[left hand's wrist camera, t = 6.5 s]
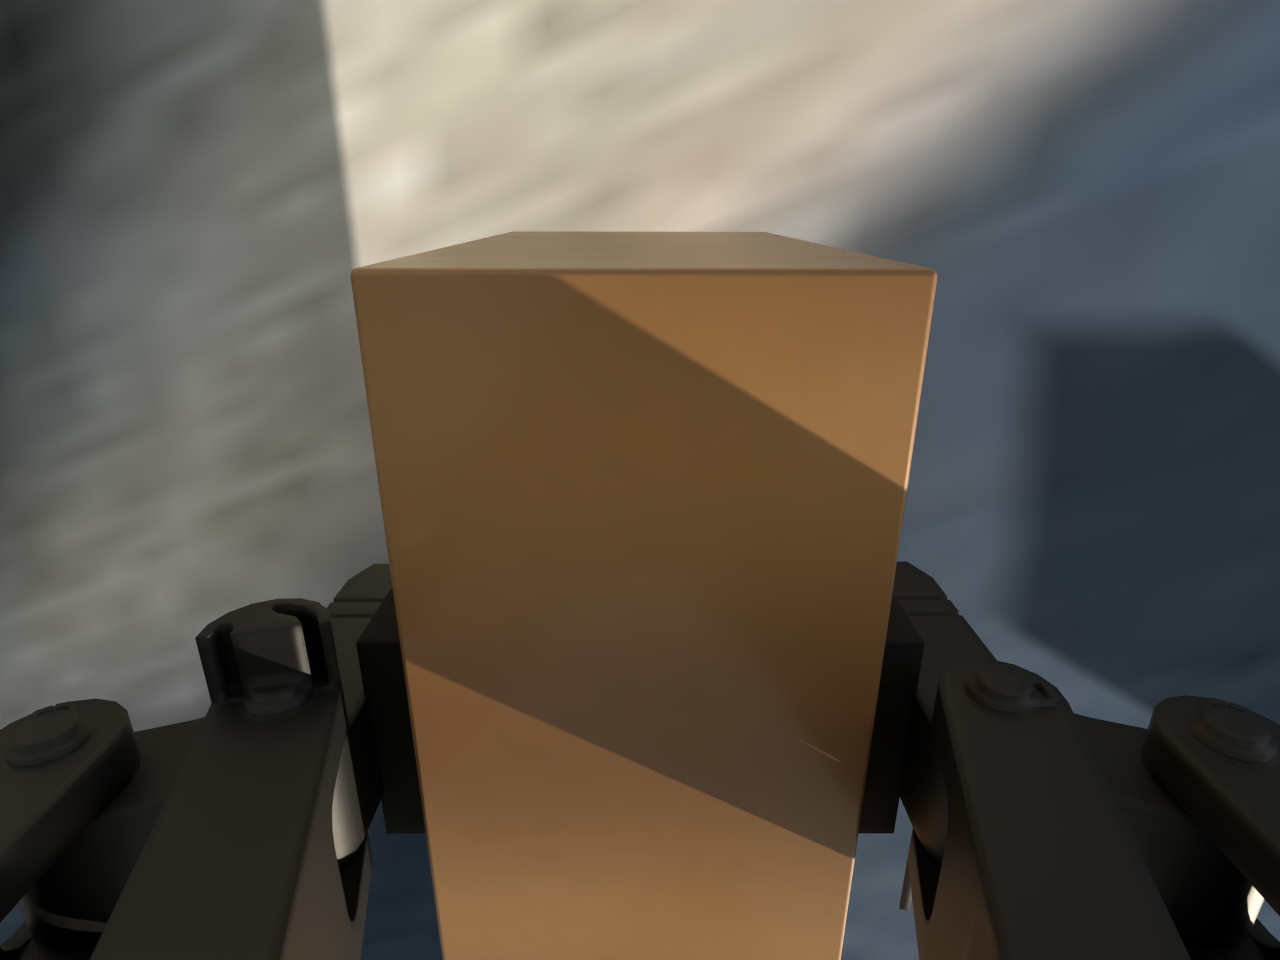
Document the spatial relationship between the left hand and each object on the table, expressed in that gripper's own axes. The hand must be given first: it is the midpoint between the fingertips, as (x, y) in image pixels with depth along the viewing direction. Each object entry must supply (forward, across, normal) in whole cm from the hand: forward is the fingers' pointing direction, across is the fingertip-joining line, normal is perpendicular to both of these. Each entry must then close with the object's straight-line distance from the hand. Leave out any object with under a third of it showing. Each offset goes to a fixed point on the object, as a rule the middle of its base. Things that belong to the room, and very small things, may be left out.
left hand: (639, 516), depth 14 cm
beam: (+1, 0, -24) cm, 25 cm away
